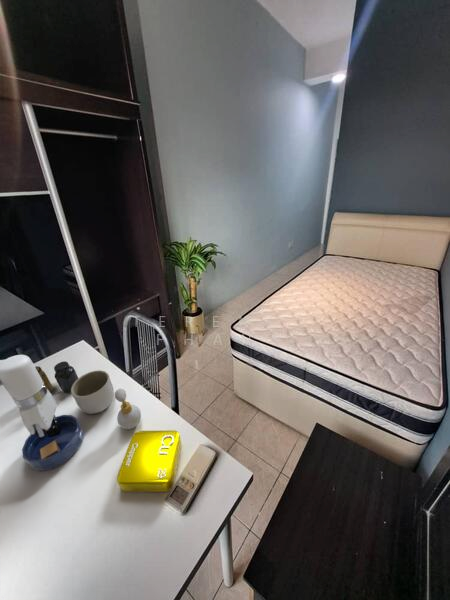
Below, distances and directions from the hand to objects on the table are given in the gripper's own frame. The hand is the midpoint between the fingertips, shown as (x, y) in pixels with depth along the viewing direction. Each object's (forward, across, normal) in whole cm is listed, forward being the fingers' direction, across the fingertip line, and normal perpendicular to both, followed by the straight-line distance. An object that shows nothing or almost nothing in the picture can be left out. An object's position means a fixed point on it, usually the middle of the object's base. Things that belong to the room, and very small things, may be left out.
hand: (55, 433), depth 79 cm
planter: (+4, -11, +11) cm, 16 cm away
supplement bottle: (+4, -24, -1) cm, 24 cm away
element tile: (+4, +18, +29) cm, 34 cm away
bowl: (+4, +2, 0) cm, 4 cm away
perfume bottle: (+4, +1, +22) cm, 22 cm away
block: (+3, +6, 0) cm, 7 cm away
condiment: (+4, -25, -10) cm, 27 cm away
